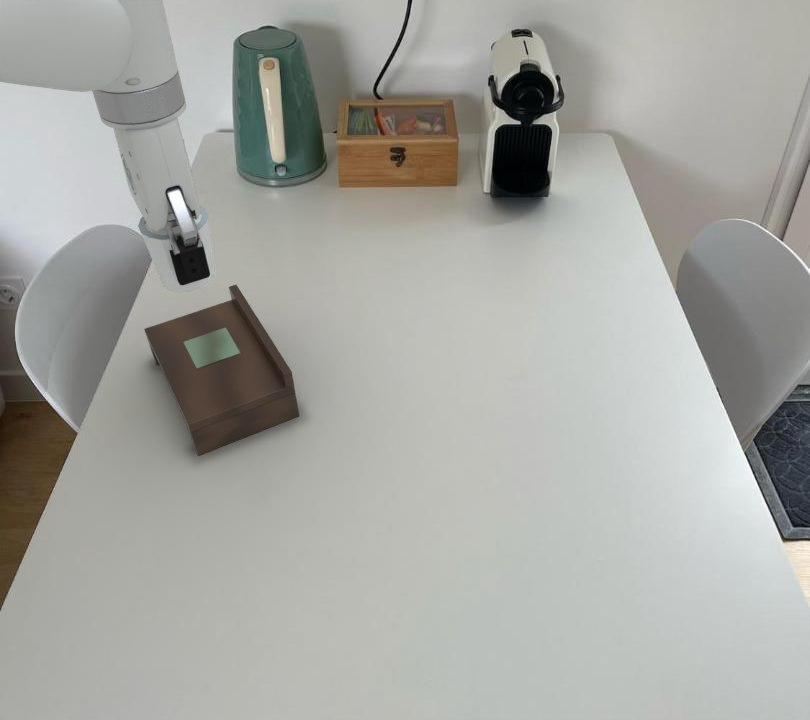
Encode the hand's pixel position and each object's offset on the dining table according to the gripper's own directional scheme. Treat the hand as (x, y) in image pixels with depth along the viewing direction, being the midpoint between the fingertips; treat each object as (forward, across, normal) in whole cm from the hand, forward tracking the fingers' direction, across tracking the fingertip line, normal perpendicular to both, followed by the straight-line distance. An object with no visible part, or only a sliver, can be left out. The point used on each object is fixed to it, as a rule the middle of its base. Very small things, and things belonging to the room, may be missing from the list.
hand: (183, 259), depth 83 cm
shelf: (+19, 0, +1) cm, 19 cm away
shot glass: (+2, 0, 0) cm, 2 cm away
